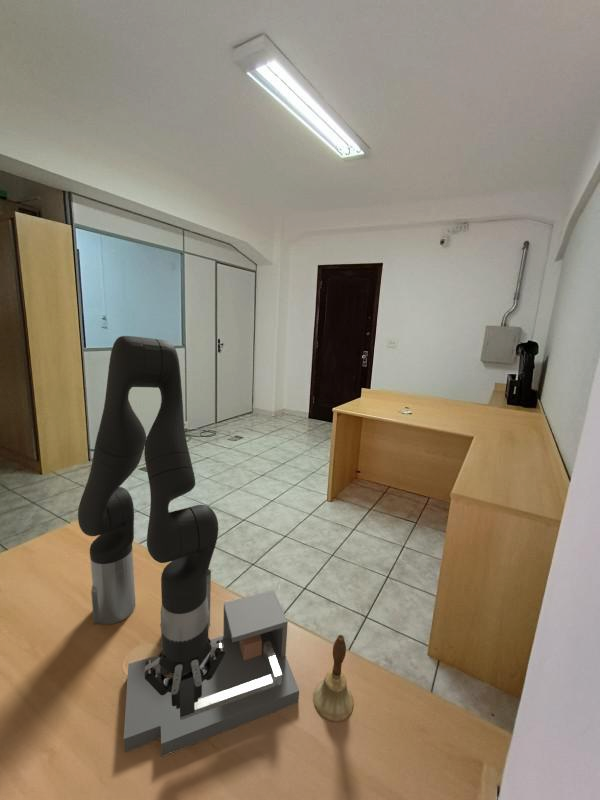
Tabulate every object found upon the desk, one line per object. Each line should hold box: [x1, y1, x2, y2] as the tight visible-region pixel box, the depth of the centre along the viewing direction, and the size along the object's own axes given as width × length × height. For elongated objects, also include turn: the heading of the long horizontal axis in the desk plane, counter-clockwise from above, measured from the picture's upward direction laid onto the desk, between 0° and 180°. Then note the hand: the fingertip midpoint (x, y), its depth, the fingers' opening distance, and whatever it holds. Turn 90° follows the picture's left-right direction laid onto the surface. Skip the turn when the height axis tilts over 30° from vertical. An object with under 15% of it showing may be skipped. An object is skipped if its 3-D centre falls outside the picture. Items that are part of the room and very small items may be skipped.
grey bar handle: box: [179, 641, 282, 720], centre depth 68 cm, size 19×8×9 cm, turn 112°
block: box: [240, 634, 262, 660], centre depth 78 cm, size 4×4×4 cm
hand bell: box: [313, 634, 355, 723], centre depth 70 cm, size 8×8×16 cm
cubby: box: [123, 589, 300, 757], centre depth 72 cm, size 32×18×12 cm, turn 113°
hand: (186, 700), depth 62 cm, fingers closed on grey bar handle, 2 cm apart
